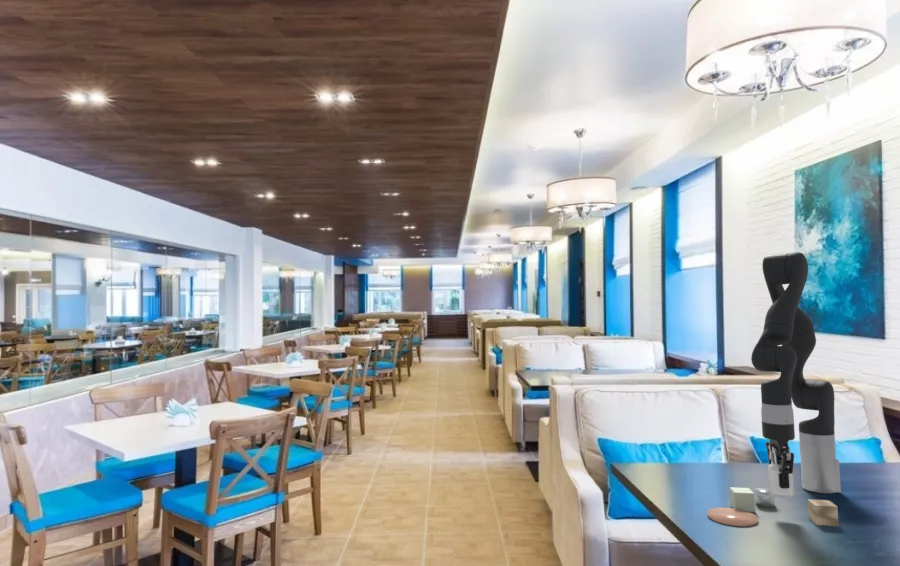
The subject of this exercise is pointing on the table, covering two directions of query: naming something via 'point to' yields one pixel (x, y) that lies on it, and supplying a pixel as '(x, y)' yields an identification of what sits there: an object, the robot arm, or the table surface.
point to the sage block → (742, 499)
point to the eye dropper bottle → (774, 483)
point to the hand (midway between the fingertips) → (781, 485)
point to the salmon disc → (732, 517)
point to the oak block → (823, 512)
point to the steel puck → (764, 498)
